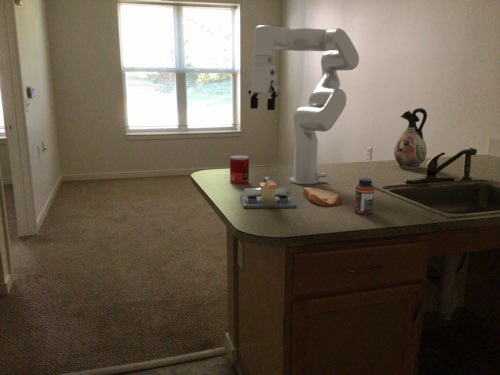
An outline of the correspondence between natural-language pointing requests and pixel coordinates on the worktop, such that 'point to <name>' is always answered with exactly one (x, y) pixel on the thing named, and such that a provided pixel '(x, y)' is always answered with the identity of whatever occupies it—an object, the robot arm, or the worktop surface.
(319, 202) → the bread slice
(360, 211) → the supplement bottle
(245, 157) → the canned food
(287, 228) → the worktop surface
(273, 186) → the lever
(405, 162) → the ceramic jug
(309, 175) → the robot arm
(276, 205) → the valve assembly
